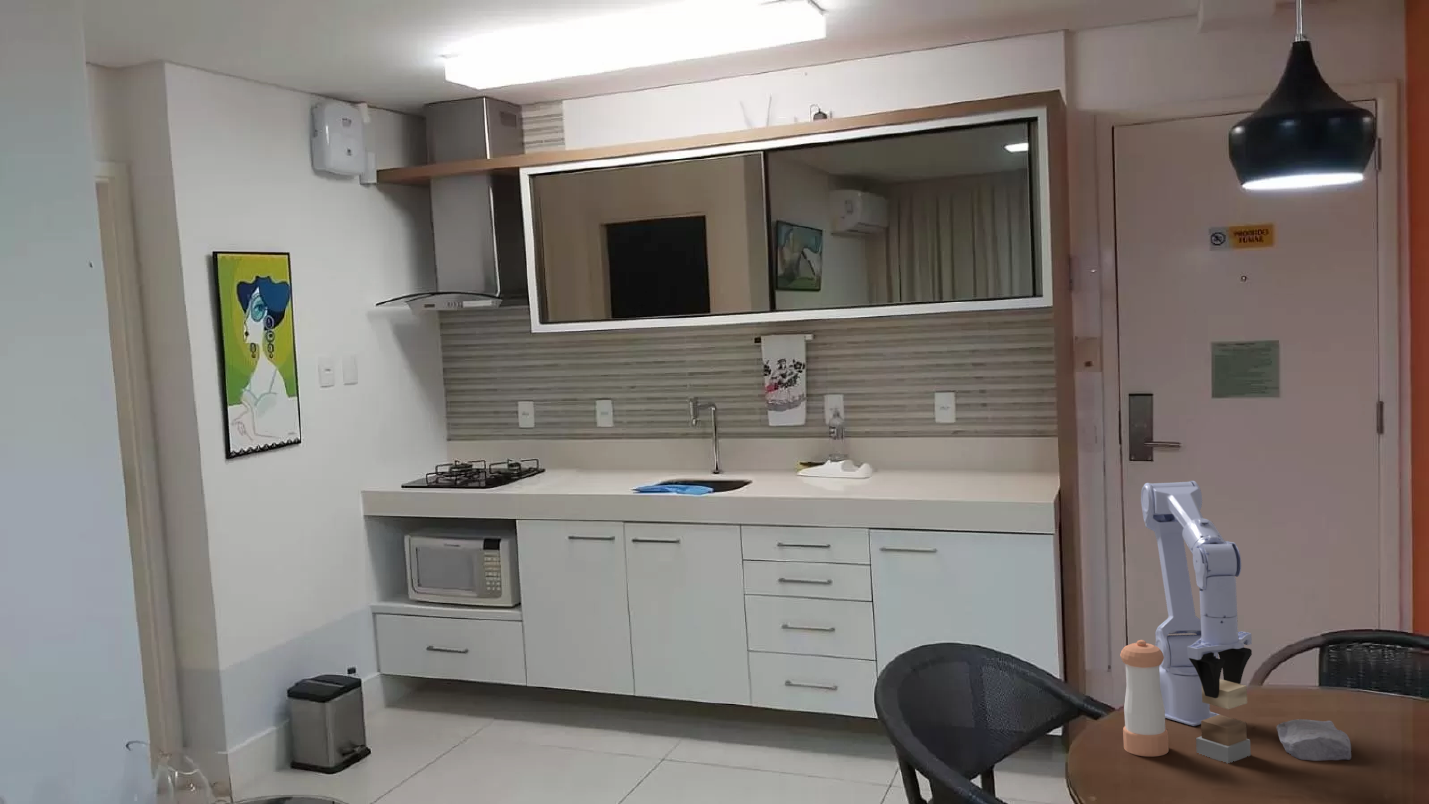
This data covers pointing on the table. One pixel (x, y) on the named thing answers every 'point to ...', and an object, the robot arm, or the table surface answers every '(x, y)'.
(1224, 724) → the walnut block
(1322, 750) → the stone block
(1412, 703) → the table surface
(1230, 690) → the oak block
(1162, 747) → the pepper shaker
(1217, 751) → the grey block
